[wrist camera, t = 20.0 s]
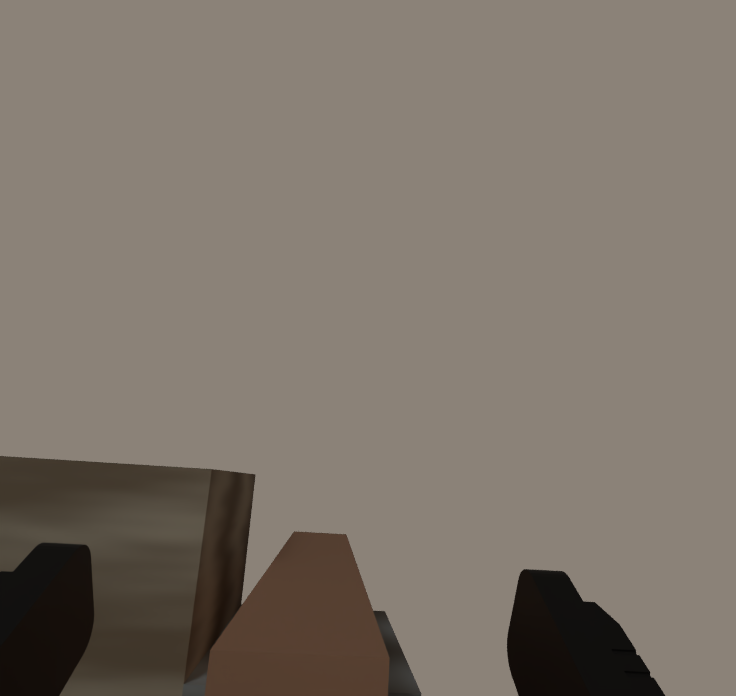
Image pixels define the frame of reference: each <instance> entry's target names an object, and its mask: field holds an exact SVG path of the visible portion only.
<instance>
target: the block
mask: <svg viewBox="0 0 736 696" xmlns="http://www.w3.org/2000/svg"><path fill="white" fill-rule="evenodd" d="M389 659H390V658H389V655H388V652H387V649H386V646H385V644H384V641H383V638H382V635H381V632H380V629H379V626H378V624H377V621H376V618H375V615H374V612H373V609H372V607H371V604H370V601H369V598H368V595H367V592H366V589H365V587H364V584H363V581H362V578H361V575H360V573H359V569H358V567H357V564H356V561H355V558H354V555H353V552H352V550H351V547H350V544H349V541H348V538H347V536H346V534H328V533H311V532H310V533H309V532H294V533H293V534H292V535H291V537H290V538H289V540H288V541H287V542H286V544H285V545H284V547H283V548H282V549H281V551H280V552H279V554H278V555H277V557H276V558H275V559H274V561H273V562H272V563H271V565H270V566H269V568H268V569H267V571H266V572H265V573H264V575H263V576H262V578H261V579H260V580H259V582H258V583H257V585H256V586H255V588H254V589H253V590H252V592H251V593H250V595H249V596H248V597H247V599H246V600H245V602H244V603H243V604H242V606H241V607H240V609H239V610H238V611H237V613H236V614H235V616H234V617H233V619H232V620H231V621H230V623H229V624H228V626H227V627H226V628H225V630H224V631H223V633H222V634H221V635H220V637H219V638H218V640H217V641H216V643H215V644H214V645H213V647H212V648H211V650H210V655H209V663H208V671H207V679H206V688H205V696H388V682H389Z"/></svg>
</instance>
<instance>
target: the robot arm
mask: <svg viewBox="0 0 736 696" xmlns="http://www.w3.org/2000/svg"><path fill="white" fill-rule="evenodd" d="M93 624H94V600H93V582H92V564H91V552H90V549H89V547H88V546H87V545H83V544H64V543H46V542H44V543H40V544H38V545H37V546H36V547H35V548H34V549H33V550H32V551H31V552H30V553H29V554H28V556H27V557H26V558H25V559H24V560H23V561H22V562H21V563H20V564H19V565H18V567H17V568H16V569H15V570H14V571H13V572H9V571H1V572H0V696H59V695H60V694H61V692H62V690H63V689H64V687H65V685H66V683H67V682H68V680H69V678H70V677H71V675H72V673H73V672H74V670H75V668H76V666H77V665H78V663H79V661H80V660H81V658H82V656H83V654H84V652H85V650H86V648H87V646H88V643H89V640H90V637H91V633H92V629H93ZM507 652H508V662H509V667H510V671H511V675H512V678H513V680H514V683H515V686H516V689H517V692H518V695H519V696H665V695H664V693H663V691H662V690H661V688H660V687H659V685H658V684H657V682H656V681H655V679H654V678H651V676H650V671H649V670H648V668H647V667H646V665H645V663H644V662H643V660H642V659H641V657H640V656H639V655H637V654H636V650H635V648H634V646H633V645H632V643H631V642H630V640H629V639H628V637H627V636H626V634H625V632H624V631H623V629H622V628H621V626H620V625H619V624H618V623H617V622H616V621H615V620H614V619H613V618H612V617H611V616H610V615H608V614H607V613H606V612H605V611H604V610H603V609H602V608H601V607H599V606H598V605H597V604H596V603H595V602H583V600H582V599H581V597H580V595H579V594H578V592H577V590H576V588H575V587H574V585H573V583H572V582H571V580H570V578H569V577H568V575H566V573H565V572H562V571H547V570H527V569H526V570H525V569H524V570H523V571H522V572H521V574H520V576H519V580H518V585H517V590H516V595H515V600H514V605H513V611H512V616H511V621H510V626H509V631H508V638H507Z"/></svg>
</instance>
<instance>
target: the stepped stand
mask: <svg viewBox="0 0 736 696" xmlns="http://www.w3.org/2000/svg"><path fill="white" fill-rule="evenodd" d="M254 482H255V475H254V474H246V473H238V472H230V471H222V470H213V469H199V468H182V467H166V466H149V465H134V464H117V463H101V462H86V461H69V460H54V459H37V458H22V457H6V456H5V457H4V456H0V572H1V571H9V572H13V571H14V570H15V569H16V568H17V567H18V565H19V564H20V563H21V562H22V561H23V560H24V559H25V558H26V557H27V556H28V554H29V553H30V552H31V551H32V550H33V549H34V548H35V547H36V546H37V545H38V544H40V543H44V542H46V543H64V544H83V545H87V546H88V547H89V549H90V552H91V564H92V582H93V600H94V624H93V629H92V633H91V637H90V640H89V643H88V646H87V648H86V650H85V652H84V654H83V656H82V658H81V660H80V661H79V663H78V665H77V666H76V668H75V670H74V672H73V673H72V675H71V677H70V678H69V680H68V682H67V683H66V685H65V687H64V689H63V690H62V692H61V694H60V695H59V696H205V688H206V679H207V671H208V663H209V655H210V650H211V648H212V647H213V645H214V644H215V643H216V641H217V640H218V638H219V637H220V635H221V634H222V633H223V631H224V630H225V628H226V627H227V626H228V624H229V623H230V621H231V620H232V619H233V617H234V616H235V614H236V613H237V611H238V610H239V609H240V607H241V606H242V605H241V600H242V591H243V582H244V573H245V564H246V554H247V545H248V536H249V527H250V518H251V509H252V499H253V491H254ZM373 612H374V615H375V618H376V621H377V624H378V626H379V629H380V632H381V635H382V638H383V641H384V644H385V646H386V649H387V652H388V655H389V658H390V659H389V682H388V696H421V692H420V690H419V688H418V686H417V683H416V681H415V679H414V676H413V674H412V672H411V670H410V667H409V665H408V663H407V661H406V658H405V656H404V654H403V652H402V649H401V647H400V645H399V643H398V640H397V638H396V636H395V633H394V631H393V629H392V627H391V624H390V622H389V620H388V618H387V615H386V613H385V612H384V611H373Z"/></svg>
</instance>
